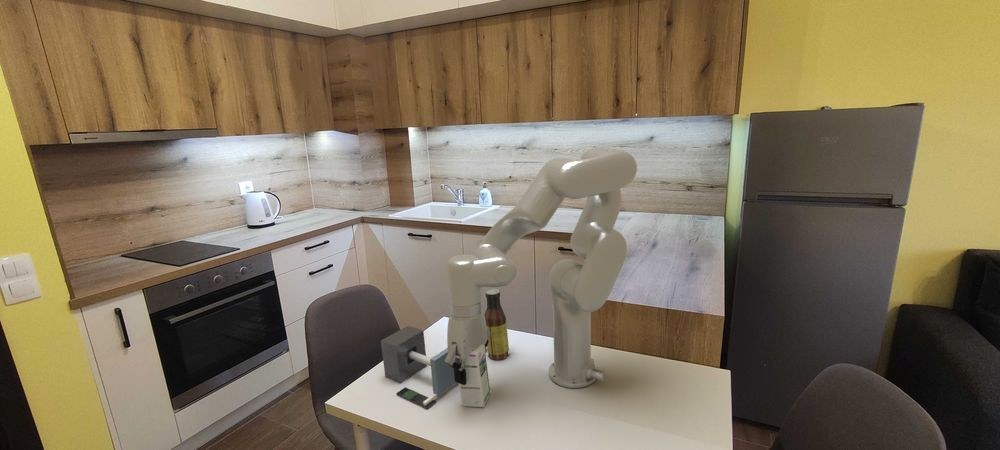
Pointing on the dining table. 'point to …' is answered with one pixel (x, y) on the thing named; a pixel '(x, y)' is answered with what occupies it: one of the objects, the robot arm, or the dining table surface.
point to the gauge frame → (404, 361)
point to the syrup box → (475, 379)
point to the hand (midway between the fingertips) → (470, 374)
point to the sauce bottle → (496, 326)
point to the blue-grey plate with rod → (436, 372)
